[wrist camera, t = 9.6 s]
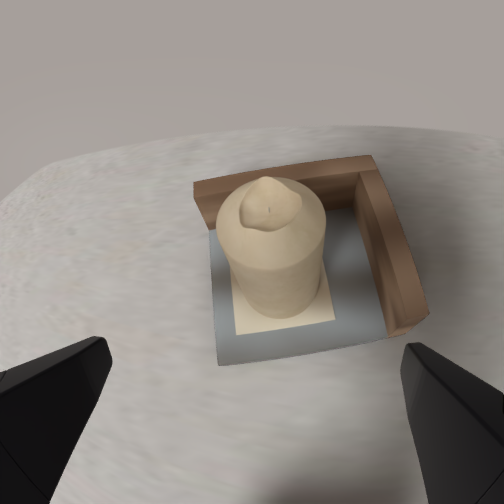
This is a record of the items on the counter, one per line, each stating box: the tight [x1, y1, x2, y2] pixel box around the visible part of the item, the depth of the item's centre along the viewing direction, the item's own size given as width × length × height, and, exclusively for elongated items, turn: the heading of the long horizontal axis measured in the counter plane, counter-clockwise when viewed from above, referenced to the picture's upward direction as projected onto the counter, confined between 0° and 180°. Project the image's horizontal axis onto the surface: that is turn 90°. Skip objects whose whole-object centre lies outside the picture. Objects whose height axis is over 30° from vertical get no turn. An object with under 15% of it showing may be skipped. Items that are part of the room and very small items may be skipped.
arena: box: [194, 155, 429, 366], centre depth 22 cm, size 12×14×5 cm
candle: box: [216, 176, 326, 319], centre depth 19 cm, size 6×6×10 cm
